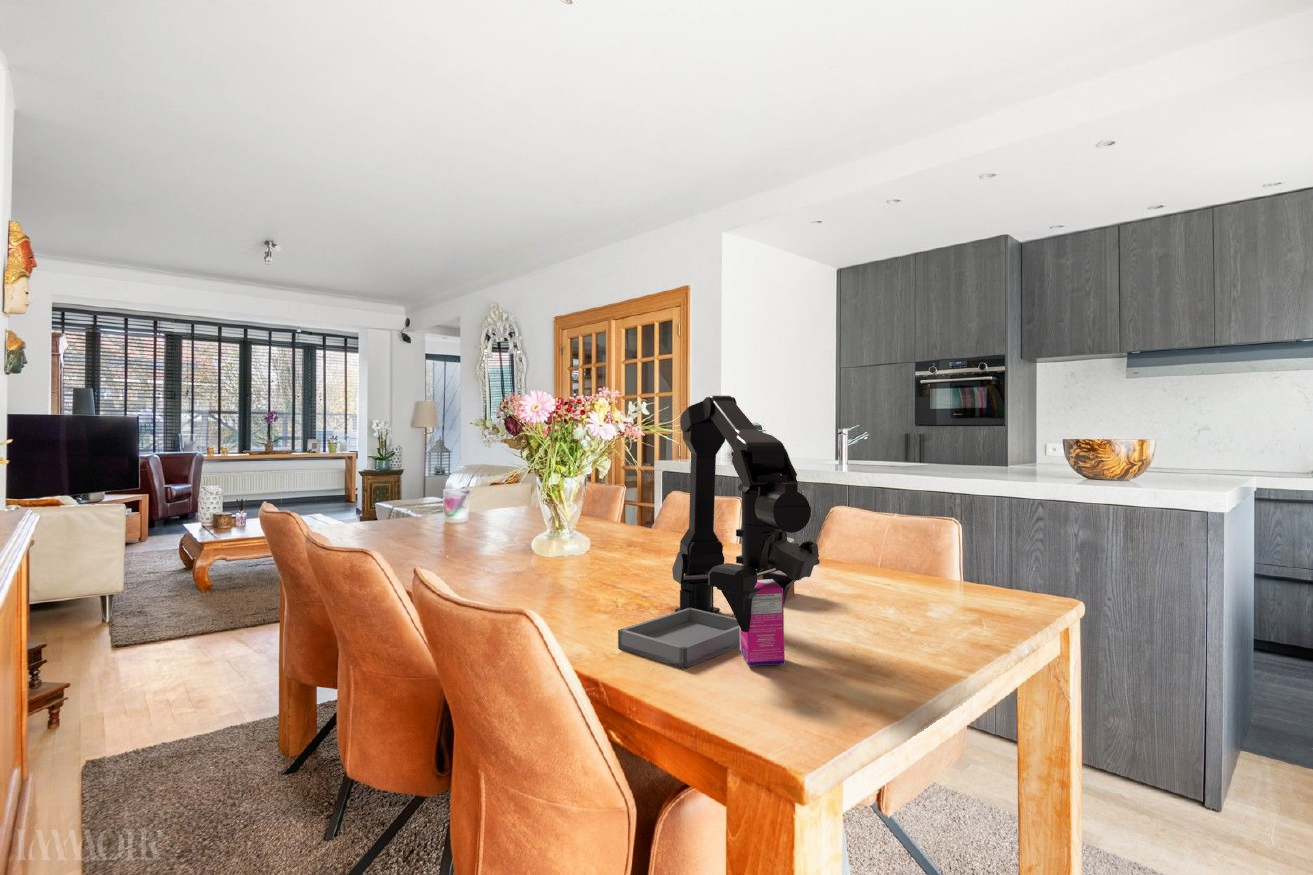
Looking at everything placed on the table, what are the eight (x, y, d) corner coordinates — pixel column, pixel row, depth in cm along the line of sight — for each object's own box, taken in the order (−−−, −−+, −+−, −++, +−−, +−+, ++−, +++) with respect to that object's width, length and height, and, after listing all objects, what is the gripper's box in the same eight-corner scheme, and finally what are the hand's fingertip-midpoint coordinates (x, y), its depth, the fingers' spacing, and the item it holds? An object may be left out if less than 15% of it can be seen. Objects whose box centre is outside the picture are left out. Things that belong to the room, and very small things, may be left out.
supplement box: (738, 652, 102) (737, 579, 102) (775, 651, 103) (775, 578, 103) (746, 666, 97) (746, 588, 96) (785, 664, 97) (785, 587, 97)
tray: (689, 623, 120) (689, 607, 120) (753, 640, 110) (753, 622, 110) (618, 648, 107) (618, 629, 107) (683, 669, 97) (683, 648, 97)
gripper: (771, 536, 87) (772, 653, 87) (839, 521, 101) (839, 622, 101) (706, 528, 95) (706, 635, 95) (777, 515, 108) (777, 609, 109)
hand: (761, 625), depth 100 cm, fingers closed on supplement box, 8 cm apart
